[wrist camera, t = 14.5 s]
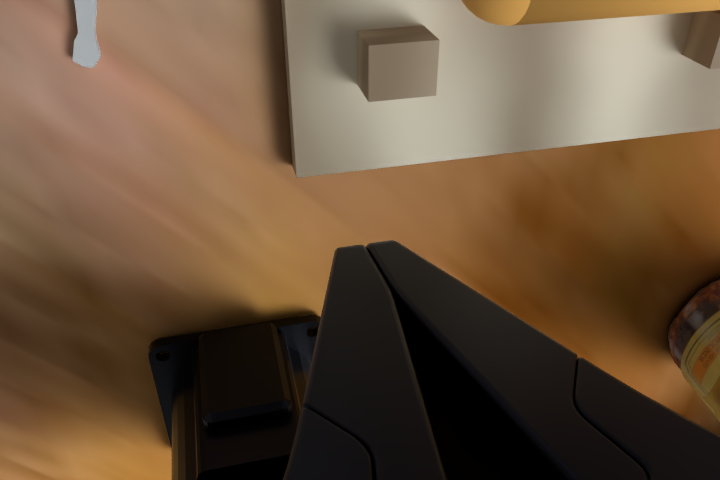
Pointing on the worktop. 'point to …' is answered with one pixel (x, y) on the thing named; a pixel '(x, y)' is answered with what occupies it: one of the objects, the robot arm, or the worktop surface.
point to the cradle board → (485, 82)
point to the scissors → (86, 34)
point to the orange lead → (578, 9)
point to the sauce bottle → (700, 344)
